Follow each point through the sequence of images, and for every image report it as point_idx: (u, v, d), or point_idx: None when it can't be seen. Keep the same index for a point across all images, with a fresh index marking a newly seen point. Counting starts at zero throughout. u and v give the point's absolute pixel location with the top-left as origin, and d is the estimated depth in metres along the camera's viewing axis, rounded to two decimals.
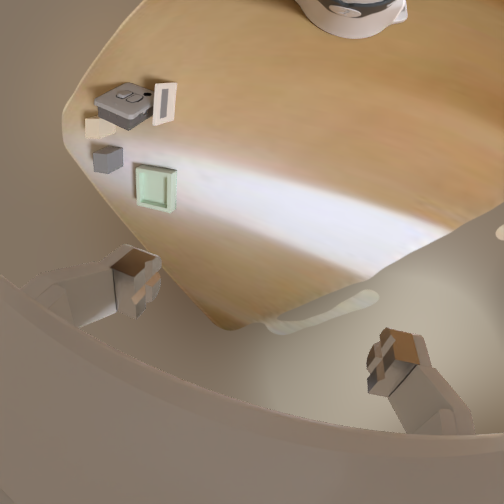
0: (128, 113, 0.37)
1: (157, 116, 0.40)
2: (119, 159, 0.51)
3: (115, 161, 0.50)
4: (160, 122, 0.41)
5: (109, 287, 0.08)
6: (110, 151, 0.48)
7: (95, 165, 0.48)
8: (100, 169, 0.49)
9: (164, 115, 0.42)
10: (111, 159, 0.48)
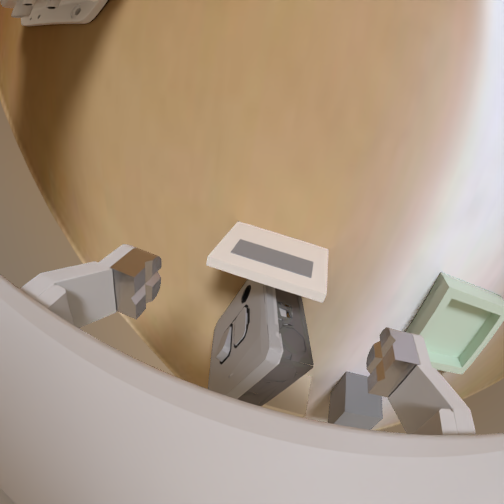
0: (263, 357, 0.15)
1: (301, 283, 0.16)
2: (365, 384, 0.24)
3: (366, 394, 0.23)
4: (322, 279, 0.17)
5: (109, 287, 0.08)
6: (342, 399, 0.23)
7: None
8: (365, 427, 0.22)
9: (307, 265, 0.18)
10: (358, 404, 0.22)
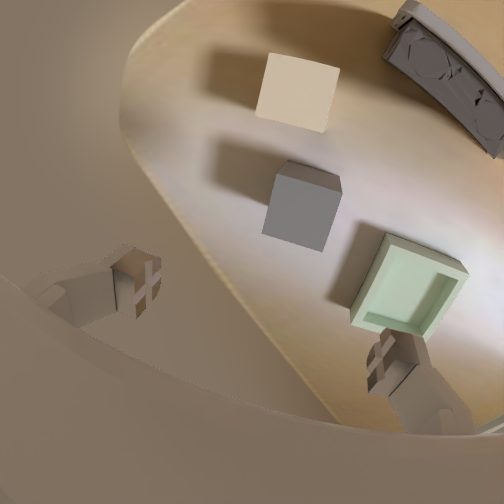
0: None
1: None
2: None
3: None
4: None
5: (109, 287, 0.08)
6: (330, 182, 0.17)
7: (275, 216, 0.17)
8: (294, 232, 0.18)
9: None
10: None
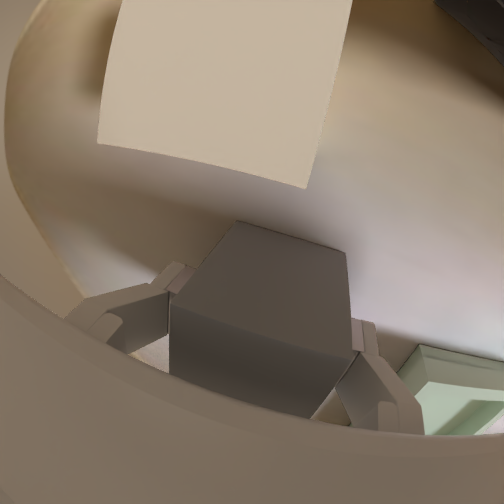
0: None
1: None
2: None
3: None
4: None
5: (163, 310, 0.08)
6: (323, 299, 0.07)
7: (188, 381, 0.07)
8: None
9: None
10: None
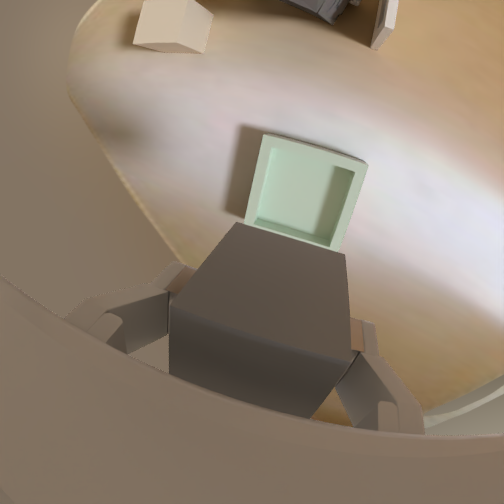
0: None
1: (395, 13, 0.11)
2: None
3: None
4: (389, 32, 0.12)
5: (163, 310, 0.08)
6: (323, 300, 0.07)
7: None
8: None
9: None
10: None
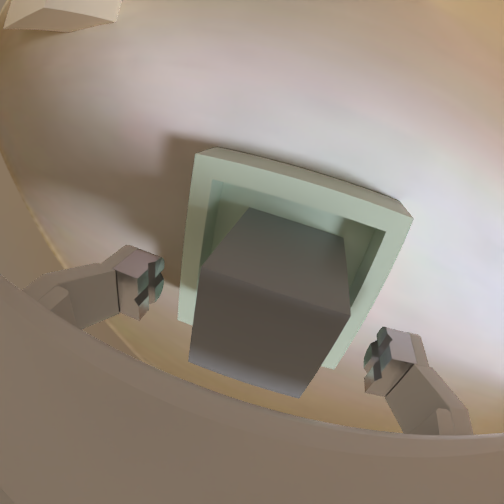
0: None
1: None
2: None
3: None
4: None
5: (112, 288, 0.08)
6: (325, 270, 0.09)
7: (208, 342, 0.08)
8: (246, 370, 0.09)
9: None
10: None
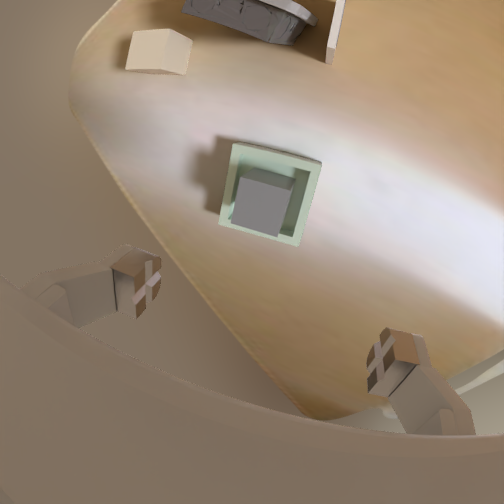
0: (288, 0, 0.13)
1: (338, 33, 0.15)
2: (288, 203, 0.26)
3: (286, 208, 0.25)
4: (334, 50, 0.17)
5: (109, 287, 0.08)
6: (284, 183, 0.23)
7: (240, 209, 0.23)
8: (255, 222, 0.23)
9: None
10: (287, 203, 0.23)
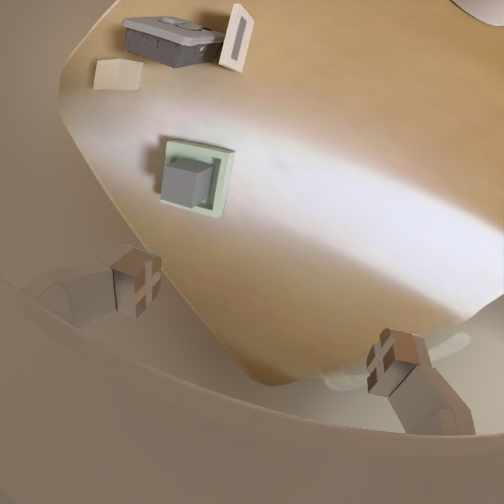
0: (184, 36, 0.20)
1: (228, 51, 0.22)
2: (207, 184, 0.33)
3: (203, 187, 0.32)
4: (230, 64, 0.24)
5: (109, 287, 0.08)
6: (198, 168, 0.30)
7: (166, 189, 0.30)
8: (176, 197, 0.30)
9: (235, 57, 0.24)
10: (199, 183, 0.30)
